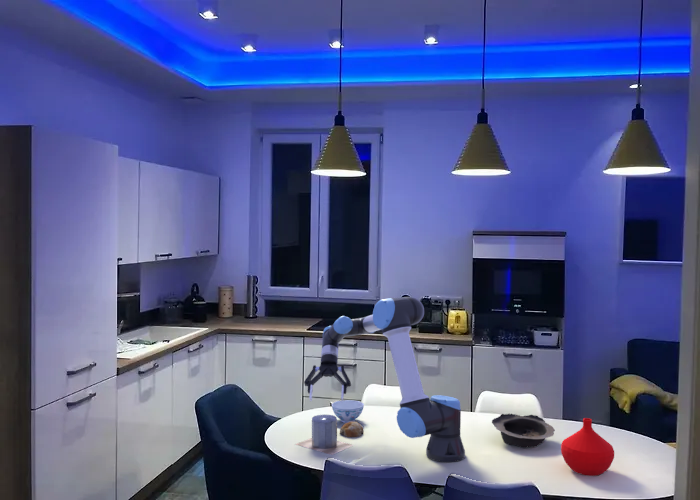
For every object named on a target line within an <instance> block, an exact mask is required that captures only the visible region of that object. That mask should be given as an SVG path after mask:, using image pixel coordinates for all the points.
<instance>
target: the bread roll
mask: <svg viewBox="0 0 700 500" xmlns="http://www.w3.org/2000/svg"><path fill="white" fill-rule="evenodd" d="M339 429H340V430H339V435H341V436H343V437H345V438H357V437H358V438H359V437H361V436H362V435H364V433H365V431H364V427H363V426H362V425H361V423H359V422H358V421H354V422H352V421H351V422H348V423H344V424H343V425H342V426H341V427H340V428H339Z"/></svg>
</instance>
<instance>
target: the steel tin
mask: <svg viewBox="0 0 700 500" xmlns="http://www.w3.org/2000/svg"><path fill="white" fill-rule="evenodd" d="M337 418H338V417H337V416H336V415H333V414H317V415H314V416H313V417H312V418H311V419H312V420H311V438H312V446H313V447H315V448H318V449H329V448H333V447H336V445H337V441H338V419H337Z"/></svg>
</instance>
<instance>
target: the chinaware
mask: <svg viewBox="0 0 700 500" xmlns="http://www.w3.org/2000/svg"><path fill="white" fill-rule="evenodd" d="M364 405H365V404H364V403H363V402H362V401H359V400H353V399H352V400H351V399H343V402H342V401H341V400H337V401H334V402H333V403H331V408H332V410H333V413H334V416H335V417H336V418H338V419H339V420H340V422H342V423H344V424H346V423H348V422H351V421H352V422H356V420H357V419H358V418H359V417H360V416H361V415H362V413H363V410H364V407H365V406H364Z"/></svg>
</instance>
